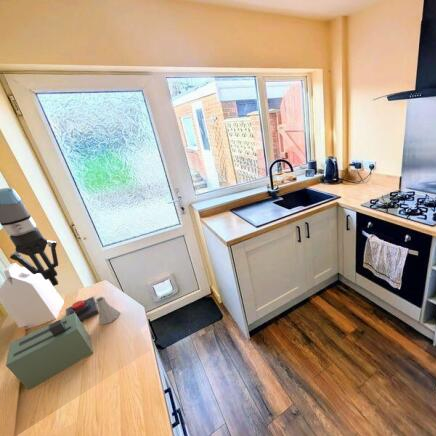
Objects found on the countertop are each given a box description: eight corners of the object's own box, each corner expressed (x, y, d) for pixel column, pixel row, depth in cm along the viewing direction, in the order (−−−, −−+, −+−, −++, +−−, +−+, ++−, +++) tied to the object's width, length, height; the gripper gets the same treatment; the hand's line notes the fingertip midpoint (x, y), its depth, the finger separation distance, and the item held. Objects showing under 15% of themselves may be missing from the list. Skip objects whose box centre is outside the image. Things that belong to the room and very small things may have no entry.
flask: (95, 323, 100) (84, 305, 96) (110, 310, 106) (100, 292, 102) (109, 325, 98) (98, 306, 94) (124, 311, 104) (114, 293, 100)
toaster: (30, 366, 84) (9, 342, 79) (89, 335, 94) (74, 312, 89) (28, 390, 77) (5, 365, 72) (93, 353, 87) (77, 328, 82)
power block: (68, 312, 107) (63, 305, 106) (95, 300, 113) (91, 293, 112) (69, 327, 99) (64, 320, 97) (99, 313, 105) (95, 306, 103)
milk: (33, 312, 110) (-2, 264, 99) (64, 301, 115) (34, 255, 104) (21, 331, 100) (-20, 280, 89) (56, 318, 105) (21, 269, 94)
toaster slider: (54, 332, 81) (48, 325, 80) (65, 327, 83) (60, 319, 81) (54, 336, 80) (48, 329, 78) (66, 331, 81) (60, 323, 80)
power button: (73, 307, 105) (71, 304, 104) (84, 302, 107) (82, 298, 106) (74, 311, 102) (72, 308, 101) (85, 306, 104) (83, 303, 104)
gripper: (-5, 242, 81) (33, 297, 91) (47, 227, 89) (77, 279, 99) (-2, 235, 86) (33, 288, 96) (47, 222, 94) (75, 272, 104)
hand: (55, 283), depth 97 cm, fingers closed
